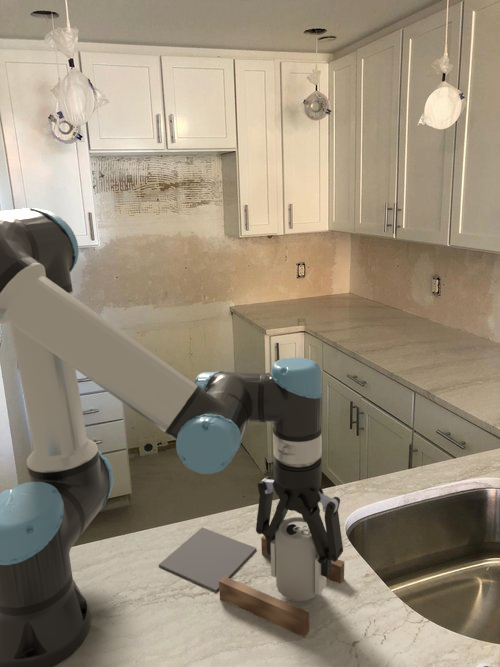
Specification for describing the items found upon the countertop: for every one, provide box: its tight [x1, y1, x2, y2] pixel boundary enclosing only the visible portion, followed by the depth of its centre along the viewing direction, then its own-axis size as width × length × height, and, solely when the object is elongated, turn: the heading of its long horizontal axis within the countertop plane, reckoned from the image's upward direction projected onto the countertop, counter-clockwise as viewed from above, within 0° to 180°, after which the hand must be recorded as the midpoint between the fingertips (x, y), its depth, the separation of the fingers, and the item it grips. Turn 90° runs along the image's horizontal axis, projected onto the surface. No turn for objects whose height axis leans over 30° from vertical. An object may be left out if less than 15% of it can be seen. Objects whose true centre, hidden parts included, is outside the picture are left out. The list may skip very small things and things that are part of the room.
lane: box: [218, 534, 345, 638], centre depth 93 cm, size 16×15×4 cm
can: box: [275, 516, 318, 602], centre depth 90 cm, size 8×8×12 cm
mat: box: [158, 527, 257, 593], centre depth 102 cm, size 13×13×1 cm
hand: (298, 580), depth 91 cm, fingers closed on can, 7 cm apart
